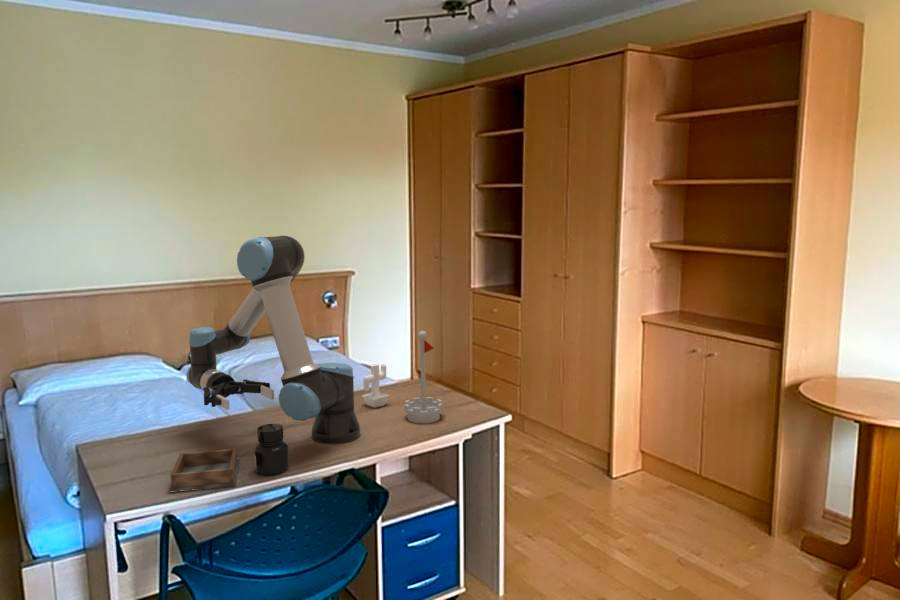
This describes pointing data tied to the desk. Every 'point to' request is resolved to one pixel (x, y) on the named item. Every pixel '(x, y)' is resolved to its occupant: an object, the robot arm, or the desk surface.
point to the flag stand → (423, 394)
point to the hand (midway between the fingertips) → (251, 399)
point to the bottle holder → (205, 470)
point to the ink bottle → (271, 450)
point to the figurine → (375, 387)
